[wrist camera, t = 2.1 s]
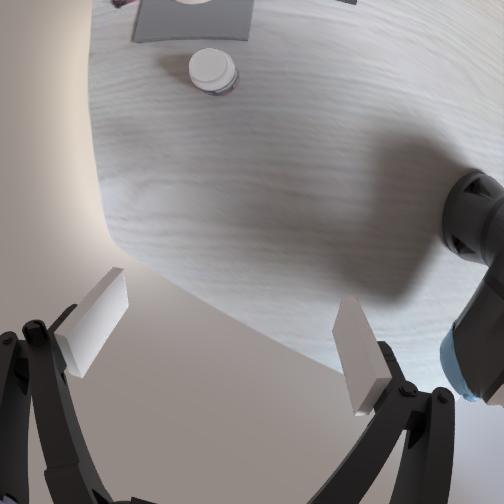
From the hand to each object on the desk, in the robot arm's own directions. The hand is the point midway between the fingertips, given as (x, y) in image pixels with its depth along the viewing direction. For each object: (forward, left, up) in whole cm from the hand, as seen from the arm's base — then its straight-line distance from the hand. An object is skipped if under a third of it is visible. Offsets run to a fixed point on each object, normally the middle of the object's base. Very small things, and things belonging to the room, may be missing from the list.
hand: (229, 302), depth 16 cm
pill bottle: (+6, -16, -25) cm, 30 cm away
